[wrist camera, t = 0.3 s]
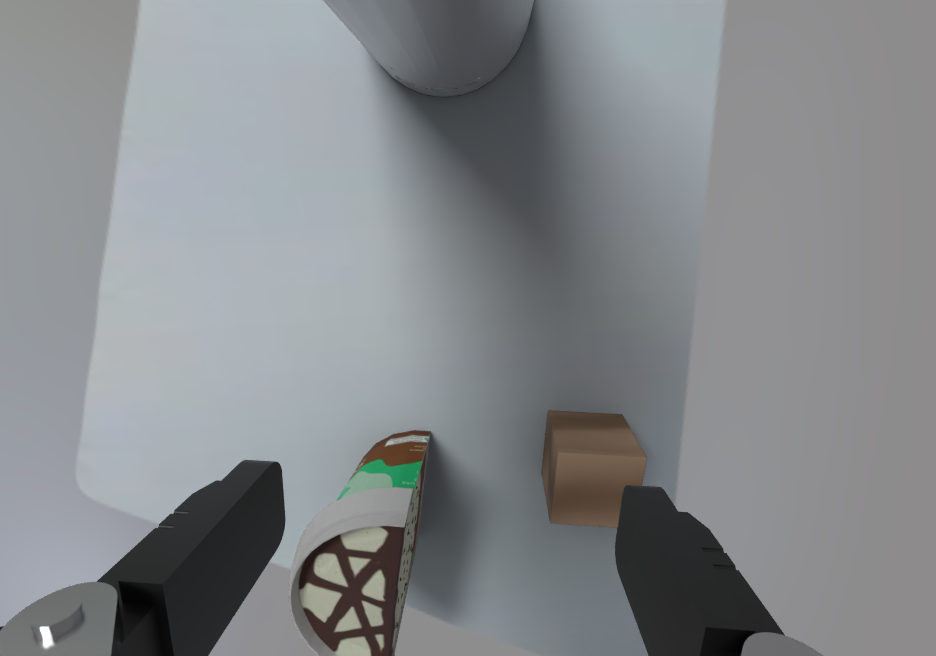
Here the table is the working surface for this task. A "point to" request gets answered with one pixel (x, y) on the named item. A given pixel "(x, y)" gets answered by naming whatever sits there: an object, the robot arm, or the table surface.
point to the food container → (362, 554)
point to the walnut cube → (589, 467)
